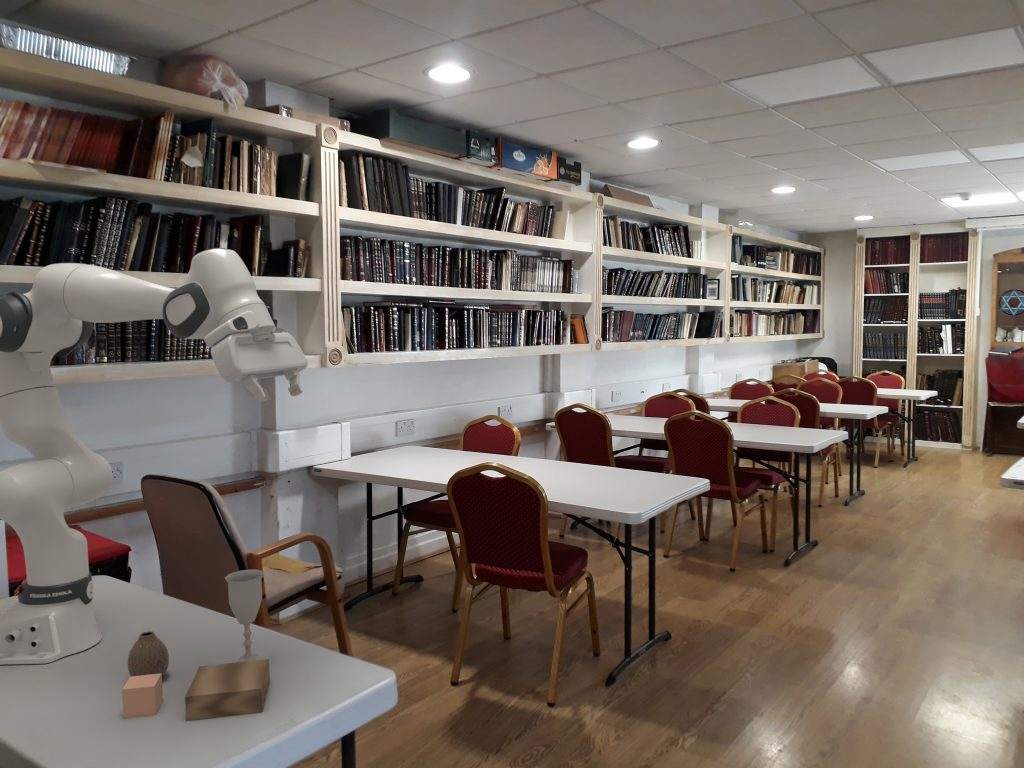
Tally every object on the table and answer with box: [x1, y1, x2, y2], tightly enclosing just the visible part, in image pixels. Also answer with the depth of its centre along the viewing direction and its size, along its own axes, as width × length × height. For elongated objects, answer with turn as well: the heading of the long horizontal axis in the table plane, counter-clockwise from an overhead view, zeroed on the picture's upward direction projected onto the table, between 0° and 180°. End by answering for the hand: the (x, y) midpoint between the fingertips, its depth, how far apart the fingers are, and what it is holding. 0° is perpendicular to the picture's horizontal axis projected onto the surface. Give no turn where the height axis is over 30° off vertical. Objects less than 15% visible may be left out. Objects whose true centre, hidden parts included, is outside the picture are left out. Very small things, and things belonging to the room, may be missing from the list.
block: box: [121, 673, 164, 719], centre depth 131 cm, size 5×5×5 cm
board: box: [184, 658, 271, 722], centre depth 134 cm, size 12×12×4 cm
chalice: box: [224, 568, 265, 662], centre depth 146 cm, size 7×7×18 cm
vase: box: [127, 630, 170, 678], centre depth 142 cm, size 7×7×9 cm
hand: (281, 397), depth 138 cm, fingers open, 8 cm apart
